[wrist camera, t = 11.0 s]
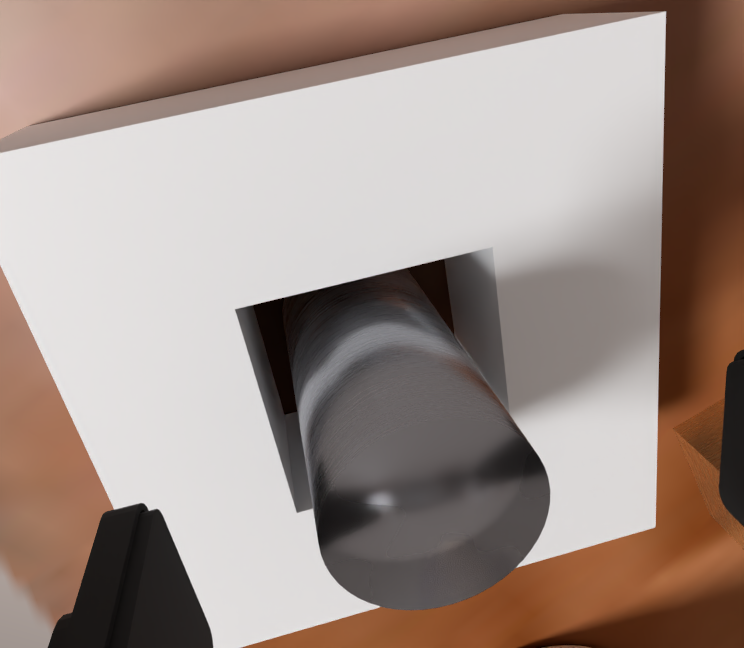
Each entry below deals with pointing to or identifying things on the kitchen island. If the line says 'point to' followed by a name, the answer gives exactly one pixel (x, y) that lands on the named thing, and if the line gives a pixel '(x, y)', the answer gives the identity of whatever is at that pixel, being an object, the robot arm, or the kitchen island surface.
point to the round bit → (407, 448)
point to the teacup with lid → (567, 646)
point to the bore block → (352, 279)
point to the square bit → (708, 462)
